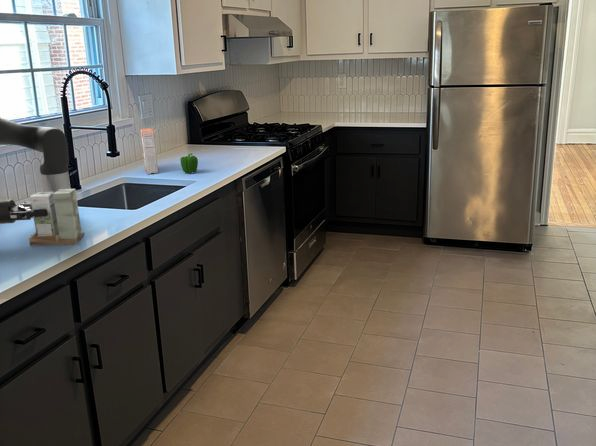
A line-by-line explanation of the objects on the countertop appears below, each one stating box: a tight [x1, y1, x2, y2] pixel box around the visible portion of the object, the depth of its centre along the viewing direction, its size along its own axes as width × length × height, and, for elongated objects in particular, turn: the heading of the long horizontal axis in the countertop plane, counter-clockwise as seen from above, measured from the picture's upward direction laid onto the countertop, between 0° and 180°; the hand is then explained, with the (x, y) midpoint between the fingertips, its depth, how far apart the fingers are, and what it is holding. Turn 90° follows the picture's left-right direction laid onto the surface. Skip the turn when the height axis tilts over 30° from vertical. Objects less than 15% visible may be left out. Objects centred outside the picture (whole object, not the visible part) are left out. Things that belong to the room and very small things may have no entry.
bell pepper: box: [179, 152, 199, 174], centre depth 285 cm, size 8×8×10 cm
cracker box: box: [140, 127, 159, 175], centre depth 289 cm, size 14×6×21 cm, turn 17°
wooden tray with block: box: [28, 188, 85, 247], centre depth 187 cm, size 9×14×16 cm, turn 93°
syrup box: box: [29, 191, 59, 237], centre depth 186 cm, size 6×6×14 cm
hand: (51, 208), depth 186 cm, fingers open, 8 cm apart
